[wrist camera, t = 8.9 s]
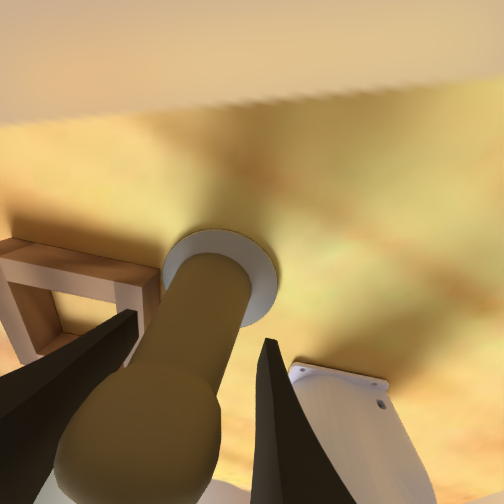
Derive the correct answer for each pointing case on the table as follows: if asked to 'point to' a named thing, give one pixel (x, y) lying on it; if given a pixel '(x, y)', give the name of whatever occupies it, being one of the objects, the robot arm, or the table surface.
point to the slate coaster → (238, 250)
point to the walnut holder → (66, 281)
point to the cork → (161, 398)
